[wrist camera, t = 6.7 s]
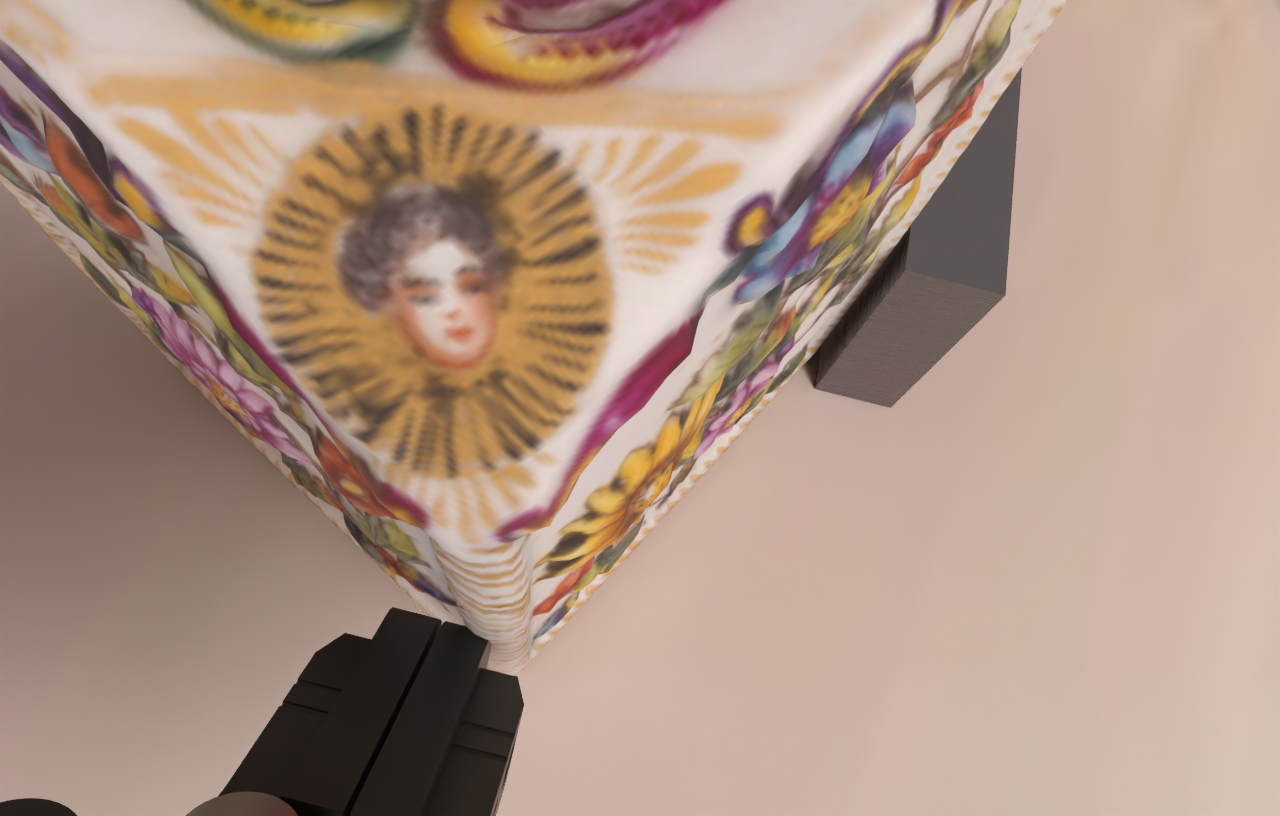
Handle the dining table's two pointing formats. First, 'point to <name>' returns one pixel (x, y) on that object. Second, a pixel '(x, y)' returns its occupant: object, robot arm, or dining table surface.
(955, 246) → the grey tray
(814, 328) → the decorative jar
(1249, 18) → the dining table surface
